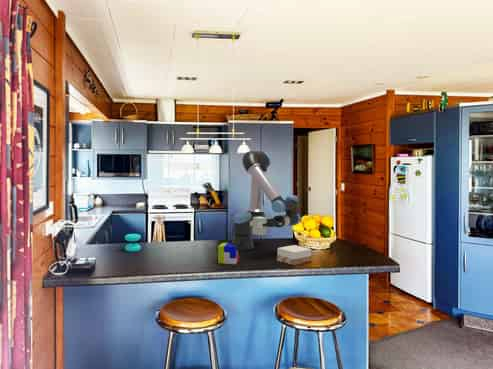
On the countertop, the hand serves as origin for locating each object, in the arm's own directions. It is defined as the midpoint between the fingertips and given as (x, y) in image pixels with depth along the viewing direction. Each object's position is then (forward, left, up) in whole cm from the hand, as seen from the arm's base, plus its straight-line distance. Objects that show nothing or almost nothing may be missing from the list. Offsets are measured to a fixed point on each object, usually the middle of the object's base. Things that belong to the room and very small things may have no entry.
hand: (254, 224), depth 245 cm
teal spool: (-67, -44, -21) cm, 83 cm away
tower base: (+19, +14, -21) cm, 32 cm away
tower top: (+19, +15, -17) cm, 30 cm away
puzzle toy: (-5, -15, -21) cm, 26 cm away
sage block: (0, +5, -6) cm, 8 cm away
